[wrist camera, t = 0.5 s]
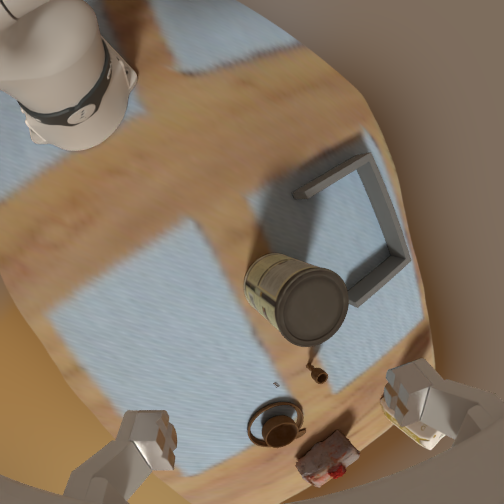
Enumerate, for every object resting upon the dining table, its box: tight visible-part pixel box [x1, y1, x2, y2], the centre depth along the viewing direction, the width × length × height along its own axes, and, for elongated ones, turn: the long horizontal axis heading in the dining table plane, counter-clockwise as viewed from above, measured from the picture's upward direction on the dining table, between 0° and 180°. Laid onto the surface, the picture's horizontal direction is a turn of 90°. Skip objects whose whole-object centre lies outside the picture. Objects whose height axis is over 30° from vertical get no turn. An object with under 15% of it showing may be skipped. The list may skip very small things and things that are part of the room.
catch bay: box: [292, 152, 411, 308], centre depth 51 cm, size 22×15×4 cm
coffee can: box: [244, 253, 349, 347], centre depth 43 cm, size 10×10×14 cm
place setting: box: [247, 363, 328, 448], centre depth 53 cm, size 18×20×6 cm
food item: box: [296, 430, 360, 487], centre depth 56 cm, size 14×8×10 cm, turn 126°
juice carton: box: [380, 397, 445, 450], centre depth 56 cm, size 8×9×19 cm
